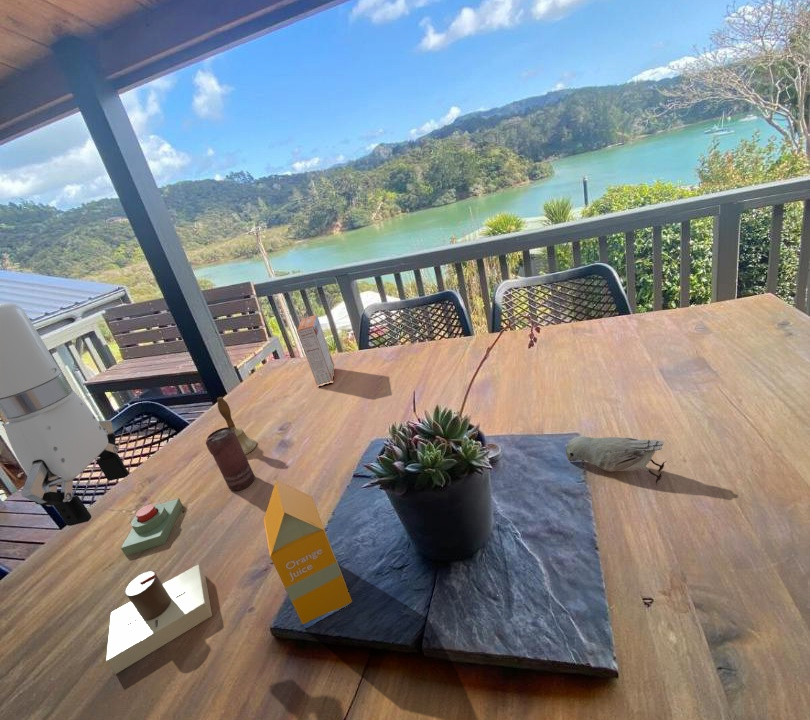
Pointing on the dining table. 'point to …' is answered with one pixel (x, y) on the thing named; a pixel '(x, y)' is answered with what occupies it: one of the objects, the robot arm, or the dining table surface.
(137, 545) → the button block
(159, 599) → the knob
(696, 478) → the dining table surface
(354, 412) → the dining table surface
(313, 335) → the cracker box
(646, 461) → the decorative bird
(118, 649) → the panel
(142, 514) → the button
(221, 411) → the hand bell
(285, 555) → the orange juice
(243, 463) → the can
